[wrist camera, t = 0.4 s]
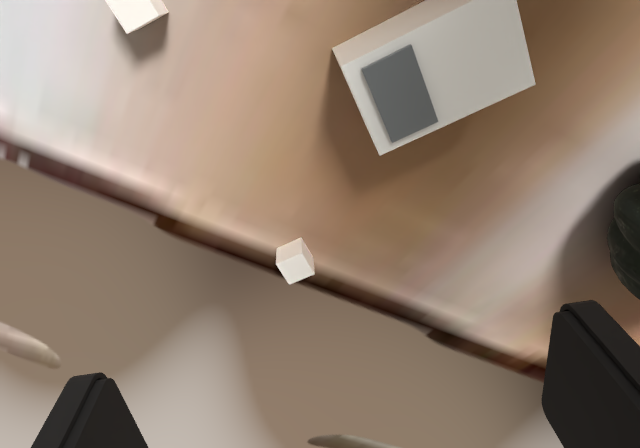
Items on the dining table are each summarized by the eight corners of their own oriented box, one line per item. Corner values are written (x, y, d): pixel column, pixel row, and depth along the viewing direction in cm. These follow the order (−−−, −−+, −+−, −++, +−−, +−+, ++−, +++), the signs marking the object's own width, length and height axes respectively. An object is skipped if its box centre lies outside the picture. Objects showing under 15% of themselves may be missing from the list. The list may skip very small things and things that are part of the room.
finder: (467, -22, 30) (515, -20, 24) (490, 63, 33) (538, 85, 26) (331, 47, 32) (341, 68, 25) (364, 123, 35) (380, 158, 28)
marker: (301, 237, 39) (301, 253, 37) (313, 257, 40) (314, 274, 38) (276, 247, 39) (275, 264, 37) (289, 268, 41) (289, 284, 38)
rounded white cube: (146, -26, 29) (134, -25, 27) (168, 12, 30) (159, 15, 28) (116, -7, 29) (101, -5, 27) (138, 29, 30) (126, 33, 28)
